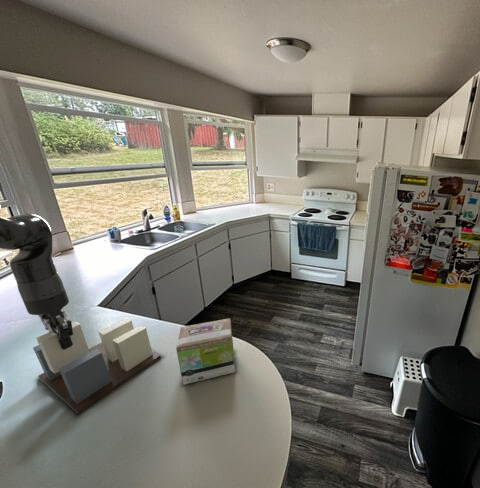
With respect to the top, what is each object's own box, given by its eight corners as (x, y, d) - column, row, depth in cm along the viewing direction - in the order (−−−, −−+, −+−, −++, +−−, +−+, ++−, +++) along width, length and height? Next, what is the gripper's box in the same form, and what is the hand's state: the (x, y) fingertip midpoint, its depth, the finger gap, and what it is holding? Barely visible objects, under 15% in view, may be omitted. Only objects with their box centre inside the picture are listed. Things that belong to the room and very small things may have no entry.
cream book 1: (54, 373, 68) (41, 341, 65) (49, 369, 70) (35, 337, 66) (90, 354, 75) (80, 324, 72) (85, 350, 76) (74, 321, 73)
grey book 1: (50, 380, 74) (37, 351, 70) (46, 376, 75) (32, 347, 71) (84, 361, 81) (73, 334, 77) (79, 358, 82) (69, 331, 78)
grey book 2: (77, 404, 68) (64, 373, 64) (71, 399, 69) (58, 368, 65) (111, 381, 74) (101, 352, 71) (106, 377, 76) (96, 348, 72)
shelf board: (78, 414, 66) (77, 411, 66) (39, 378, 76) (37, 375, 75) (161, 358, 85) (160, 355, 84) (121, 335, 94) (120, 332, 94)
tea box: (183, 387, 75) (174, 348, 70) (186, 362, 83) (179, 325, 78) (235, 373, 80) (231, 335, 75) (234, 351, 89) (230, 316, 84)
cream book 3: (126, 371, 78) (117, 343, 74) (121, 368, 79) (112, 340, 75) (152, 354, 84) (146, 328, 81) (147, 351, 86) (140, 325, 82)
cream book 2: (112, 362, 81) (103, 334, 77) (107, 358, 82) (98, 331, 78) (138, 346, 88) (131, 320, 84) (133, 343, 89) (126, 317, 85)
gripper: (11, 291, 64) (34, 344, 70) (34, 307, 58) (58, 363, 64) (51, 279, 70) (69, 329, 76) (75, 292, 65) (93, 345, 71)
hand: (64, 344), depth 70 cm, fingers closed on cream book 1, 3 cm apart
